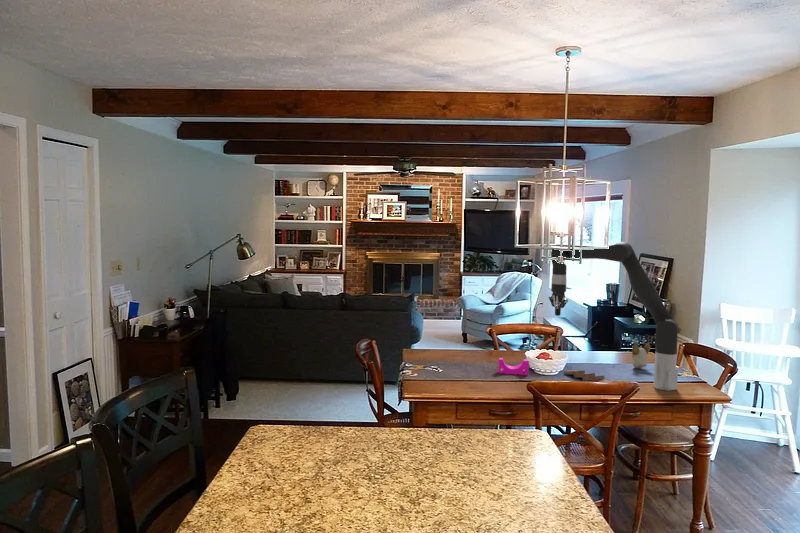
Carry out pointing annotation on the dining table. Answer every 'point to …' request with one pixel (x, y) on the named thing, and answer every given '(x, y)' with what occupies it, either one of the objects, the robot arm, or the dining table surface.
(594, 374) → the walnut domino
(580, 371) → the walnut domino
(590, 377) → the walnut domino
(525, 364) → the toy block
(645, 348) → the ceramic sculpture
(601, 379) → the walnut domino
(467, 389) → the dining table surface
